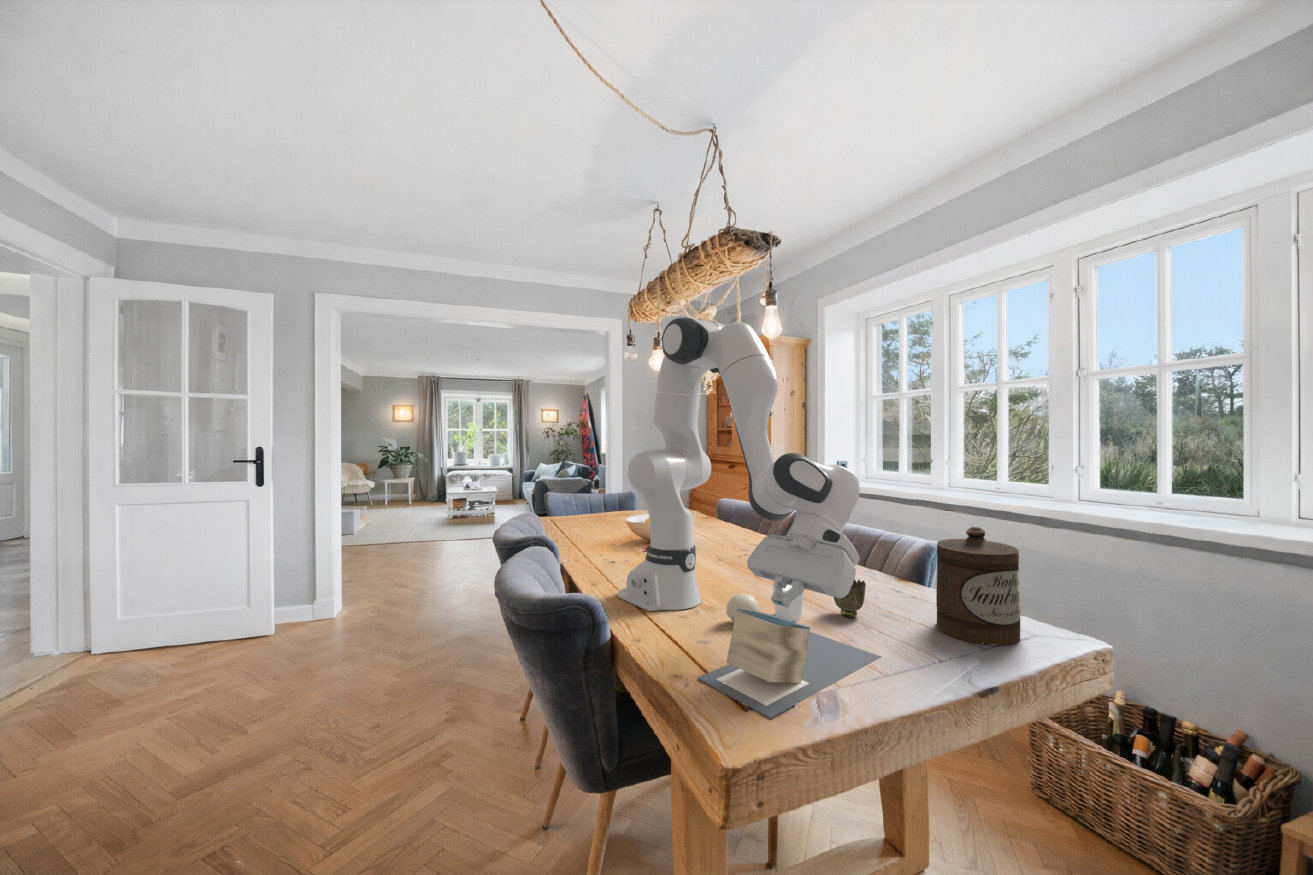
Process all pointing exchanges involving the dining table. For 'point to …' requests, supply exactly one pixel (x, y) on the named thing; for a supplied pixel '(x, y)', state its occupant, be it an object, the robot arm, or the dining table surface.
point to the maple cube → (768, 646)
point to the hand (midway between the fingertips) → (779, 603)
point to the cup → (852, 600)
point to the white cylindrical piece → (790, 607)
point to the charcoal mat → (774, 698)
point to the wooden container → (978, 589)
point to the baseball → (741, 604)
